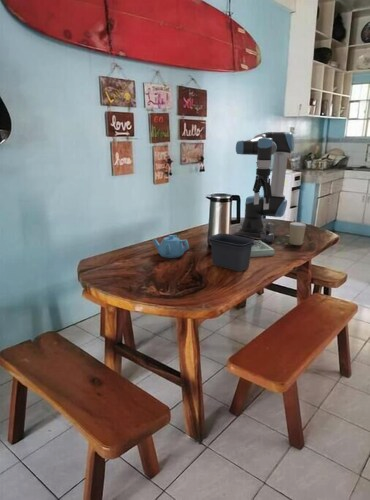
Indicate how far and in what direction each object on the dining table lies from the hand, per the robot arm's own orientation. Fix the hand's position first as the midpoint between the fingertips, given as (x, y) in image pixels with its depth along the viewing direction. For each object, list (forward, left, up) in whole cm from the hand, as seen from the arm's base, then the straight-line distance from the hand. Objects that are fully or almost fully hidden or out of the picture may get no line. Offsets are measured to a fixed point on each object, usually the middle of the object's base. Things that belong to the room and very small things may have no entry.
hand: (260, 206), depth 206 cm
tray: (+6, -7, -24) cm, 25 cm away
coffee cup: (-4, +26, -24) cm, 36 cm away
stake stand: (-10, +10, -24) cm, 28 cm away
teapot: (+4, -52, -24) cm, 57 cm away
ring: (+6, -7, -23) cm, 25 cm away
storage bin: (+27, -26, -24) cm, 44 cm away
